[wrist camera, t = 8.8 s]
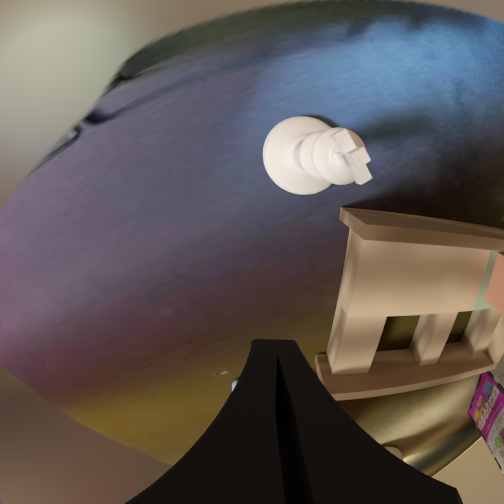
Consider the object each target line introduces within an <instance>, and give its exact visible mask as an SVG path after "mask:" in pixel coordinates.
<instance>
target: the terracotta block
mask: <svg viewBox="0 0 504 504" xmlns="http://www.w3.org/2000/svg"><path fill="white" fill-rule="evenodd" d="M484 299H485V300H487V301H488V302H489V303H490V304H491V305H493V306H494V307H495V308H496V309H497V310H498V311H499V312H501V313H502V314H503V315H504V253H498V254H497V258H496V261H495V265H494V269H493V272H492V275H491V279H490V282H489V285H488V288H487V291H486V294H485V297H484Z"/></svg>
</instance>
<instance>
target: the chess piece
mask: <svg viewBox="0 0 504 504" xmlns="http://www.w3.org/2000/svg"><path fill="white" fill-rule="evenodd" d="M263 161H264V165H265V168H266V171H267V173H268V174H269V176H270V177H271V179H272V180H273V181H274V182H275V183H276V184H277V185H278V186H279V187H281V188H282V189H284V190H286V191H288V192H291V193H294V194H301V195H307V194H314V193H318V192H320V191H322V190H324V189H326V188H327V187H329V186H330V185H331V184H332V183H333V184H337V185H345V184H349V183H352V182H354V181H355V182H356V183H357V184H360V185H362V184H363V183H365V182H367V181H368V180H370V179H372V176H371V174H370V172H369V170H368V168H367V166H366V164H367V163H368V162H369V161H371V159H370V158H369V156H368V154H367V151H366V147H365V145H364V143H363V141H362V140H361V139H360V137H359V136H358V135H357V134H355V133H354V132H352V131H351V130H348V129H346V128H340V127H336V128H331V127H330V126H328V125H327V124H326V123H324V122H323V121H321V120H318V119H316V118H313V117H307V116H296V117H291V118H288V119H285V120H283V121H282V122H280V123H278V124H277V125H276V126H275V127H274V128H273V129H272V130H271V131H270V133H269V134H268V136H267V138H266V140H265V143H264V147H263Z"/></svg>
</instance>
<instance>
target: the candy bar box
mask: <svg viewBox="0 0 504 504" xmlns="http://www.w3.org/2000/svg"><path fill="white" fill-rule="evenodd" d="M468 414H469V415H470V417H471V419H472V420H473V422H474V424H475V425H476V427H477V429H478V430H479V432H480V433H481V435H482V437H483V438H484V440H485V442H486V444H487V445H488V447H489V449H490V450H491V452H492V455H493V456H494V458H495V460H496V462H497V464H498V465H499V467H500V469H501V471H502V473H503V475H504V353H503V355H502V357H501V359H500V361H499V362H498V364H497V366H496V368H495V369H493V370H490V371H487V372H484V373H481V375H480V378H479V381H478V385H477V388H476V391H475V394H474V397H473V400H472V403H471V406H470V409H469V411H468Z"/></svg>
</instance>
